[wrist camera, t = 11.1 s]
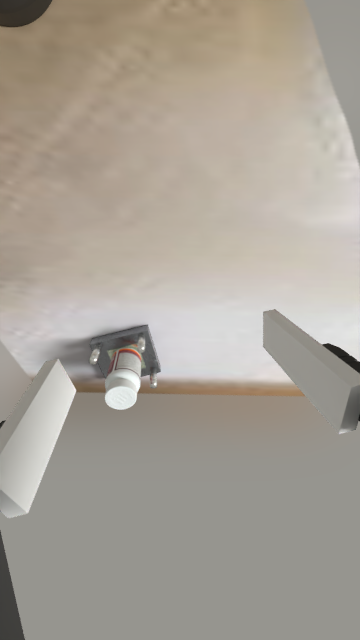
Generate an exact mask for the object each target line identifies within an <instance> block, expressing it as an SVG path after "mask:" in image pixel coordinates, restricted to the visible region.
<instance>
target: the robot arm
mask: <svg viewBox="0 0 360 640" xmlns="http://www.w3.org/2000/svg"><path fill="white" fill-rule="evenodd" d="M51 1H52V0H0V25H5V26H22V25H26V24H28V23H31V22H33V21H34V20H36V19H37V18H39V17H40V16H41V15H42V14H43V13H44V12H45V11H46V9H47V8H48V6H49V5H50V3H51ZM263 347H264V348H265V349H266V351H267V352H268V353H269V354H270V355H271V356H272V358H273V359H274V360H275V361H276V362H277V363H278V364H279V366H280V367H281V368H282V369H283V370H284V371H285V373H286V374H287V375H288V376H289V377H290V378H291V380H292V381H293V382H294V383H295V384H296V385H297V387H298V388H299V389H300V390H301V391H302V392H303V394H304V395H305V396H306V397H307V398H308V399H309V400H310V402H311V403H312V404H313V405H314V406H315V407H316V408H317V410H318V411H319V412H320V413H321V414H322V416H324V418H325V419H326V420H327V421H328V423H330V425H331V426H332V427H333V428H334V429H335V431H336V432H337V433H338V434H341V433H345V432H349V431H353V430H356V427H357V424H358V421H360V362H359V361H357V360H356V359H355V358H354V357H352V356H350V355H349V354H348V353H346V352H345V351H344V350H342V349H341V348H339V347H336V346H334V345H331V344H329V343H327V344H323V345H321V344H320V343H319V342H317V341H316V340H315V339H313V338H312V337H311V336H309V335H308V334H307V333H306V332H304V331H303V330H302V329H300V328H299V327H298V326H296V325H295V324H294V323H292V322H291V321H290V320H288V319H287V318H286V317H284V316H283V315H282V314H281V313H279V312H278V311H277V310H275V309H274V310H269V311H265V312H263ZM75 393H76V389H75V387H74V386H73V384H72V382H71V380H70V379H69V377H68V375H67V373H66V371H65V370H64V368H63V366H62V364H61V363H60V361H59V359H54V360H50V361H46V362H45V363H44V365H43V366H42V368H41V369H40V371H39V372H38V374H37V375H36V377H35V378H34V380H33V381H32V383H31V384H30V386H29V387H28V389H27V390H26V391H25V393H24V395H23V396H22V397H21V399H20V400H19V402H18V403H17V405H16V406H15V408H14V409H13V411H12V412H11V414H10V415H9V417H8V418H7V420H5V421H2V422H1V423H0V512H1V513H3V514H4V515H6V517H8V518H12V517H15V516H19V515H23V514H27V513H28V511H29V509H30V506H31V504H32V501H33V499H34V496H35V494H36V491H37V489H38V486H39V484H40V481H41V479H42V476H43V474H44V471H45V469H46V466H47V463H48V461H49V459H50V456H51V453H52V451H53V448H54V446H55V443H56V441H57V438H58V436H59V433H60V431H61V428H62V426H63V423H64V421H65V418H66V416H67V413H68V410H69V408H70V405H71V403H72V400H73V398H74V395H75ZM0 640H25V639H24V634H23V630H22V626H21V621H20V617H19V613H18V608H17V604H16V599H15V594H14V591H13V586H12V581H11V576H10V572H9V568H8V563H7V559H6V555H5V550H4V545H3V541H2V536H1V532H0Z"/></svg>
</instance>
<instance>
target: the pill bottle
mask: <svg viewBox="0 0 360 640" xmlns="http://www.w3.org/2000/svg"><path fill="white" fill-rule="evenodd" d="M140 379H141V356H140V354H139V353H138V352H137V351H136V350H135V349H132V348H121V349H118V350H117V351H115V352H114V354H113V355H112V358H111V362H110V365H109V369H108V373H107V377H106V381H105V387H106V394H105V401H106V403H107V404H108V405H109V406H110V407H112V408H114V409H127V408H129V407H131V406H132V405H133V404H134V403H135V402H136V399H137V391H138V390H139V388H140Z"/></svg>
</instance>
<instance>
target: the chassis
mask: <svg viewBox="0 0 360 640" xmlns="http://www.w3.org/2000/svg"><path fill="white" fill-rule="evenodd" d="M89 345H90V347H91V349H92V351H93V352H92V355H91V357H90V359H89V363H90V364H92V365H94V364H96V363H97V362H98V364H99V366H100V368H101V370H102V372H103V374H104V377H105V379H106V377H107V373H108V369H109V365H110V362H111V358H112V355H113V354H114V352H115V351H117V350H118V349H121V348H132V349H135V350H136V351H137V352H138V353H139V354H140V356H141V377H142V376H146V375H150V387H151V388H156V387H157V376H156V373H158V372H161V370H160V363H159V360H158V357H157V353H156V350H155V347H154V344H153V340H152V337H151V334H150V331H149V327H148V325H145V326H141V327H137V328H133V329H129V330H124V331H120V332H116V333H112V334H108V335H104V336H100V337H96V338H92V340H91V342H90V344H89Z"/></svg>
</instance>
